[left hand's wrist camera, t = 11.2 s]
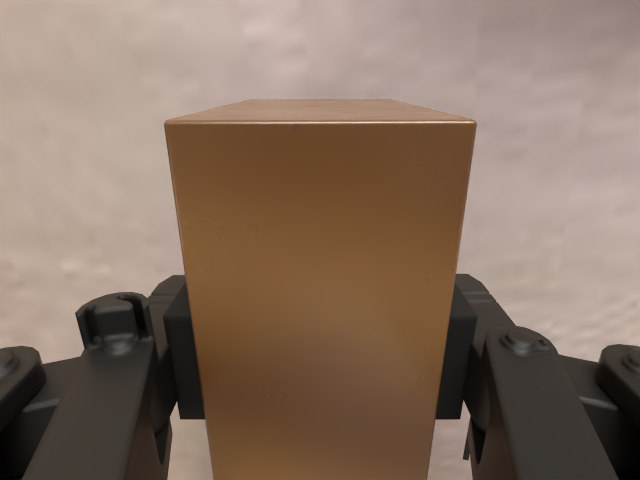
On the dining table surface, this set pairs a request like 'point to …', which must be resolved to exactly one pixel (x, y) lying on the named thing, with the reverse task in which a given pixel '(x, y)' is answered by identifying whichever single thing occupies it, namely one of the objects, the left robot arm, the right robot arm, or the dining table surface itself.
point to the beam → (320, 280)
